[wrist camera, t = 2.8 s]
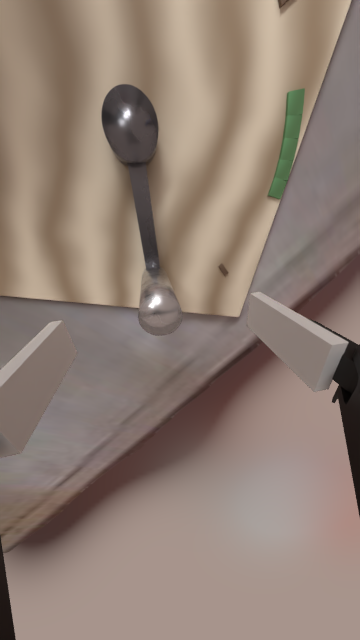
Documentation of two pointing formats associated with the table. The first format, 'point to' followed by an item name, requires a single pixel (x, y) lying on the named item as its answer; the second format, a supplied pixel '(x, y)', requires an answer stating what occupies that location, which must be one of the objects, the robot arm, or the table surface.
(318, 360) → the robot arm
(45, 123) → the dial board
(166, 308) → the grey long handled part
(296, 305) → the table surface
